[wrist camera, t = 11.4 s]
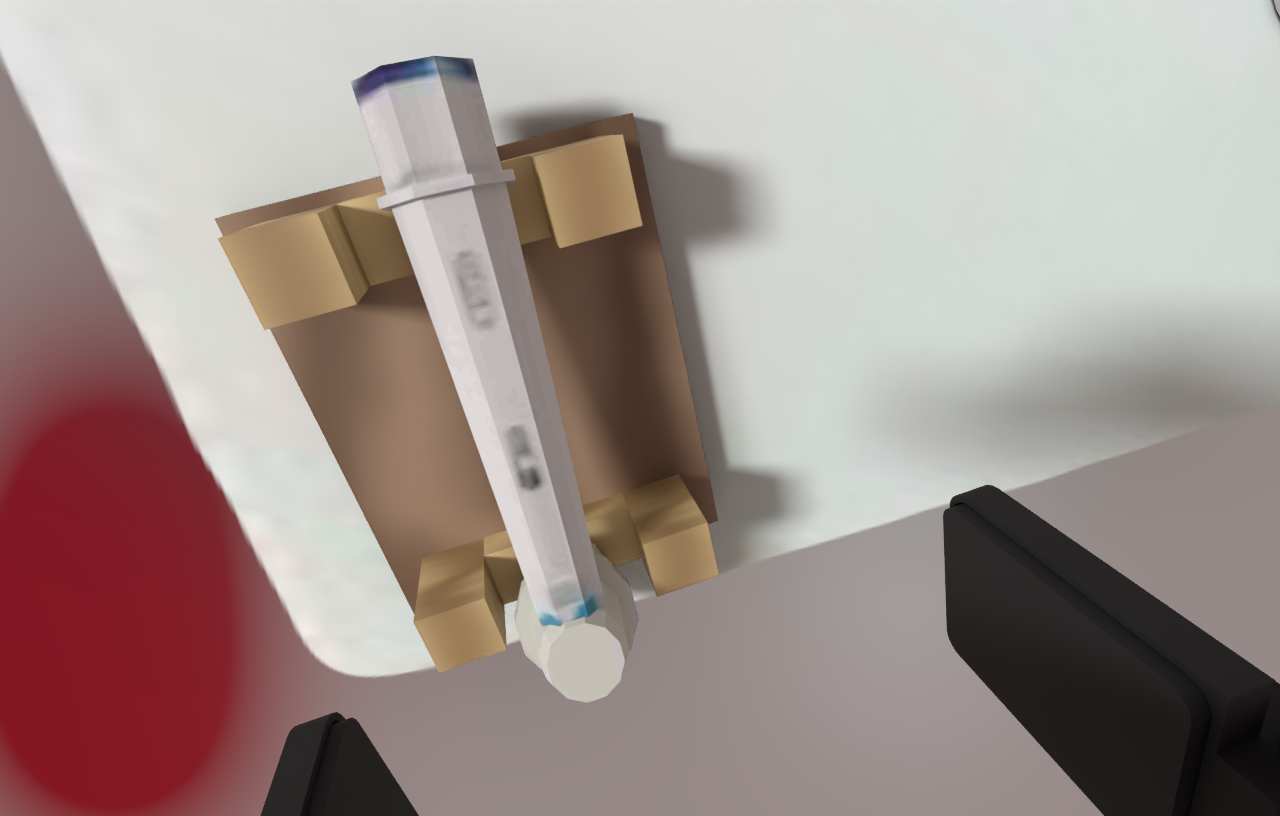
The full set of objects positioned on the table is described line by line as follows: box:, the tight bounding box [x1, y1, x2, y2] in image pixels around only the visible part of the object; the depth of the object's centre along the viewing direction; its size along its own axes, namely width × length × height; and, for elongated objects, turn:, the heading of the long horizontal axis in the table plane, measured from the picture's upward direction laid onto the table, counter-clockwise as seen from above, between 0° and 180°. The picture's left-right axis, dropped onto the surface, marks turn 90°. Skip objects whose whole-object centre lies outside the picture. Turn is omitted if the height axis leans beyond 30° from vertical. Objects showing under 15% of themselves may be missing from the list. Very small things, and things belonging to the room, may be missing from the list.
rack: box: [215, 113, 719, 673], centre depth 27 cm, size 16×20×6 cm
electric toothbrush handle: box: [351, 56, 638, 702], centre depth 25 cm, size 5×7×25 cm
